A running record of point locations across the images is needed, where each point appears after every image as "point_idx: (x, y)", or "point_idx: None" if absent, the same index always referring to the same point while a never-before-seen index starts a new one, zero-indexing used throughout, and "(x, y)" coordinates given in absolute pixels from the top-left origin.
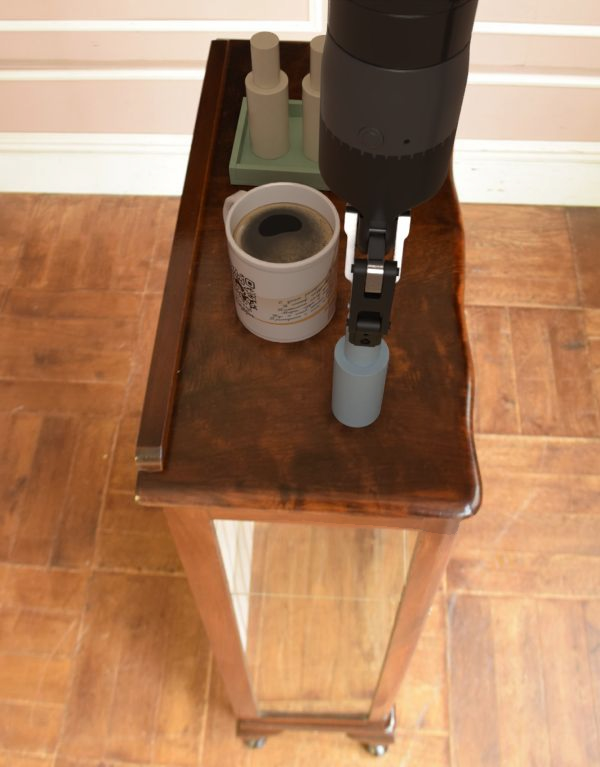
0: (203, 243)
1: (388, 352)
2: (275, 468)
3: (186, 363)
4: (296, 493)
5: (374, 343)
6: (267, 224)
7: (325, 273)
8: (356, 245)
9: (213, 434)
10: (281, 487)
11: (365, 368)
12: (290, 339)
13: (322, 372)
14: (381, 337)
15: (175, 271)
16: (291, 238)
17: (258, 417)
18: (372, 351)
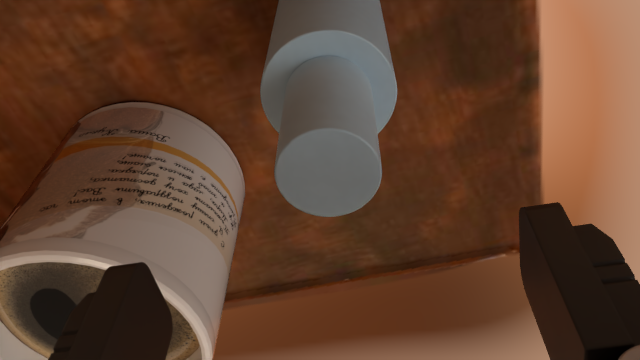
0: None
1: (308, 35)
2: (490, 108)
3: (328, 274)
4: (535, 63)
5: (615, 249)
6: None
7: (136, 213)
8: (171, 336)
9: (443, 209)
10: (526, 89)
11: (372, 77)
12: (232, 159)
13: None
14: (573, 228)
15: None
16: None
17: (397, 159)
18: (364, 98)
